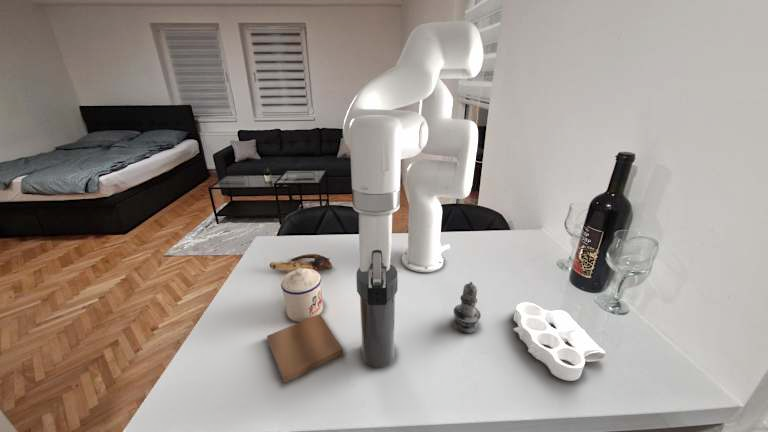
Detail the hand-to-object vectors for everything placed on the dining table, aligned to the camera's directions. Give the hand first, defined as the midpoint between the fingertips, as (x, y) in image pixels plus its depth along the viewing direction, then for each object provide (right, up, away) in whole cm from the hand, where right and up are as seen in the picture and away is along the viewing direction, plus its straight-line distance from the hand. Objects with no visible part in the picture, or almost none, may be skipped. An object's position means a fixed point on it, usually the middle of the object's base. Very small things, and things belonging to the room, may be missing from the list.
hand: (377, 288), depth 55 cm
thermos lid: (0, 0, 0) cm, 0 cm away
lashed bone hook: (-23, -2, +36) cm, 43 cm away
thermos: (0, -15, +7) cm, 17 cm away
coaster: (-15, -14, +9) cm, 23 cm away
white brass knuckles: (+37, -14, +10) cm, 41 cm away
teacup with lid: (-18, -9, +20) cm, 29 cm away
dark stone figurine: (+20, -12, +14) cm, 27 cm away
